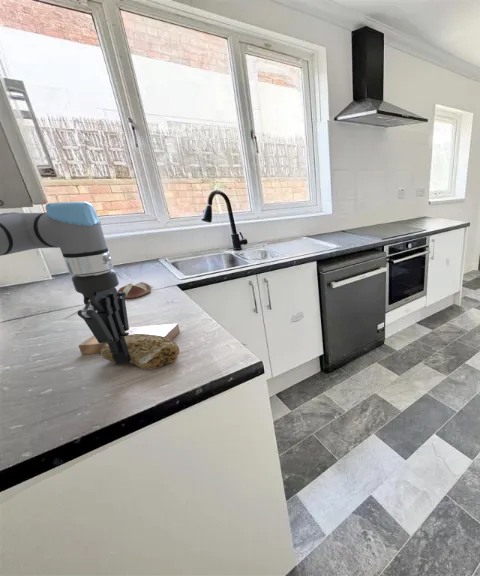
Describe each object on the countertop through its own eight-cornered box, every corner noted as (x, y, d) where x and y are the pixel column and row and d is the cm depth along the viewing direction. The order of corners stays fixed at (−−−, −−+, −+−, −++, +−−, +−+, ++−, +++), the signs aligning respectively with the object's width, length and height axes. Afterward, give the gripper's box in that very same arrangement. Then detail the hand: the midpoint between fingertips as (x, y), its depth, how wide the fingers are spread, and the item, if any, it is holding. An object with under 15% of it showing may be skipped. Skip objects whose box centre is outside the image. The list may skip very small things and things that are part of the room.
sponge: (188, 360, 87) (151, 331, 95) (180, 340, 83) (141, 312, 91) (137, 392, 78) (100, 358, 86) (124, 372, 73) (87, 337, 82)
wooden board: (81, 354, 89) (78, 345, 88) (105, 338, 98) (102, 329, 97) (165, 347, 92) (162, 338, 91) (180, 331, 102) (177, 323, 101)
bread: (156, 290, 141) (153, 279, 139) (137, 299, 130) (133, 288, 129) (133, 290, 141) (129, 279, 140) (111, 299, 131) (107, 288, 129)
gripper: (91, 279, 64) (124, 375, 72) (128, 264, 77) (153, 347, 84) (50, 282, 63) (88, 379, 71) (94, 266, 75) (123, 350, 83)
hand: (123, 361), depth 78 cm, fingers closed
